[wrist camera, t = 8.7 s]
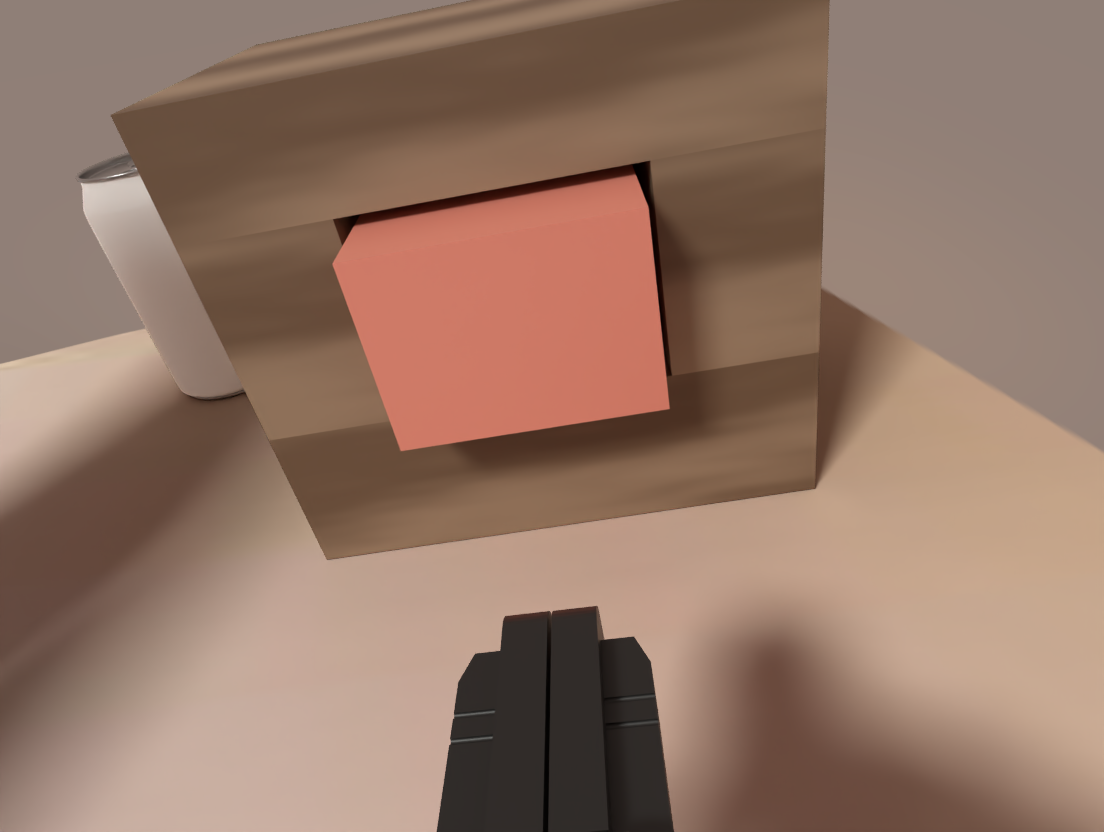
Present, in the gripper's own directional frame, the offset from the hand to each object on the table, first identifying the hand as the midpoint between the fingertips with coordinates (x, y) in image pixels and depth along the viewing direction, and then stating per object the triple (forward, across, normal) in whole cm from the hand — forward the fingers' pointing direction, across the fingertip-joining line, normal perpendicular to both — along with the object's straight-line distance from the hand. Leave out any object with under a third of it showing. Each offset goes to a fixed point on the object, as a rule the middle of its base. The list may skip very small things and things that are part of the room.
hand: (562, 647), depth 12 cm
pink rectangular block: (+13, -1, -2) cm, 13 cm away
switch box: (+19, -1, -7) cm, 20 cm away
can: (+29, -20, -7) cm, 36 cm away
